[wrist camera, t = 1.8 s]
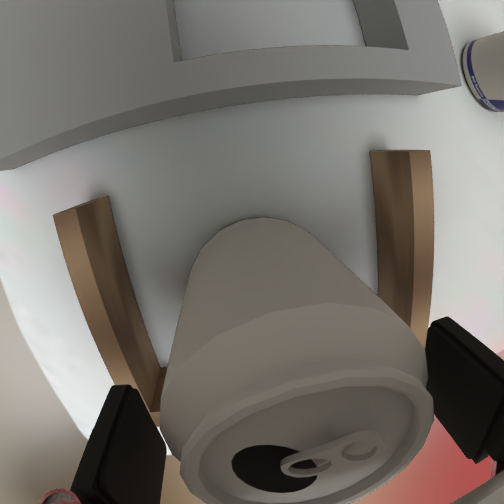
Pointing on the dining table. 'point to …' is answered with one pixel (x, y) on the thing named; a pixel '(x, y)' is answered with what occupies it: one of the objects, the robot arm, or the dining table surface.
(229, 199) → the dining table surface
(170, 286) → the dining table surface
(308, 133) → the dining table surface
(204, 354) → the can
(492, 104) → the energy drink
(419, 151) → the cubby
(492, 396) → the robot arm
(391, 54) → the hole board
